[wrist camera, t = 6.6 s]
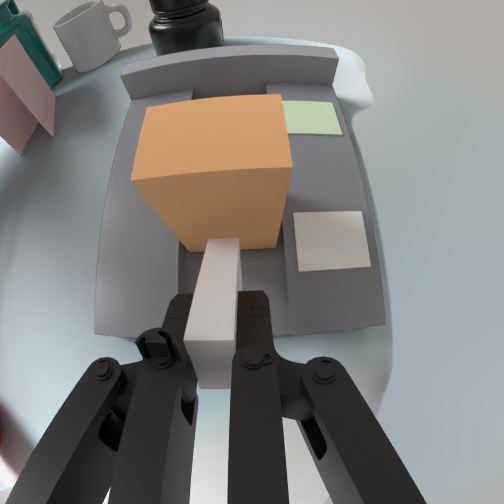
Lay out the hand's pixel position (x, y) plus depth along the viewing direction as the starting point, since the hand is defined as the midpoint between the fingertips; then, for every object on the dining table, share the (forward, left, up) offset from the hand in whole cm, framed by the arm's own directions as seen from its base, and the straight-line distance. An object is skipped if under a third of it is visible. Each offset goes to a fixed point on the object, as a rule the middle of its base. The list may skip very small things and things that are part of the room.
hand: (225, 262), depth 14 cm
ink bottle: (+14, +27, -7) cm, 31 cm away
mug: (+6, +42, -7) cm, 43 cm away
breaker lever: (+2, +3, -5) cm, 6 cm away
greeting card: (-7, +34, -7) cm, 36 cm away
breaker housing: (+5, +6, -7) cm, 10 cm away
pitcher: (-6, +49, -7) cm, 50 cm away
